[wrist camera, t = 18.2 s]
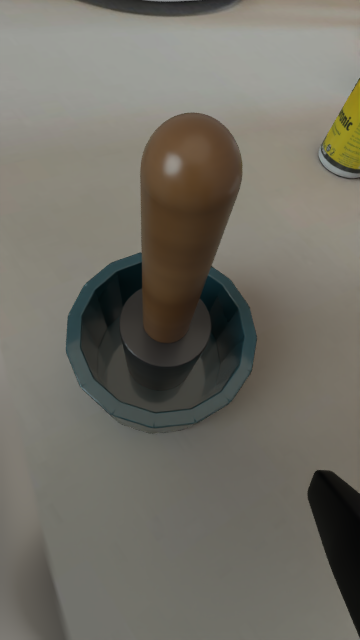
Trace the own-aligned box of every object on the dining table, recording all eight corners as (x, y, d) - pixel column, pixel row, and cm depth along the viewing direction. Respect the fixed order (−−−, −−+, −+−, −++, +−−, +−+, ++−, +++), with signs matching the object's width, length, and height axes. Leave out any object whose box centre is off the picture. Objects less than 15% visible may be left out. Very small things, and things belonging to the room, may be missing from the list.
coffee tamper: (192, 393, 15) (337, 227, 4) (121, 387, 15) (43, 188, 3) (194, 329, 17) (299, 79, 6) (130, 323, 17) (99, 43, 5)
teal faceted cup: (124, 464, 14) (115, 472, 10) (67, 330, 17) (39, 287, 12) (252, 387, 17) (292, 365, 12) (185, 282, 19) (197, 231, 15)
